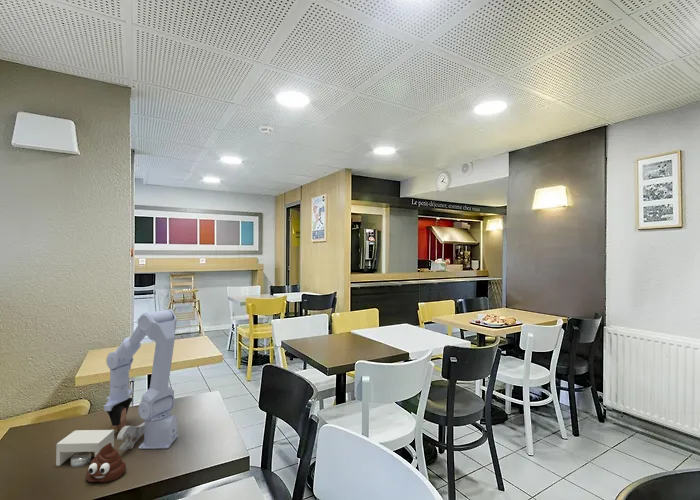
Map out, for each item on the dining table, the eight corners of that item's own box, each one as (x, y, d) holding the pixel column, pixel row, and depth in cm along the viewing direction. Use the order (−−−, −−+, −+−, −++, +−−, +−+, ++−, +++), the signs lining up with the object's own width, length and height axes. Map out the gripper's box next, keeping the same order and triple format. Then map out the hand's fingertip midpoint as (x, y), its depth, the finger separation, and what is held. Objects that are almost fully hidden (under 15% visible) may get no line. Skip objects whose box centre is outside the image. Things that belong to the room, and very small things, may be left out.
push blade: (129, 426, 132) (130, 407, 132) (96, 456, 112) (96, 434, 112) (112, 426, 131) (113, 407, 131) (76, 457, 112) (76, 434, 112)
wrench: (170, 422, 141) (120, 457, 112) (165, 422, 141) (114, 457, 112) (171, 401, 142) (122, 430, 112) (167, 401, 142) (117, 430, 112)
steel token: (94, 457, 112) (95, 451, 112) (84, 467, 107) (84, 460, 107) (78, 457, 112) (78, 451, 112) (66, 467, 107) (66, 460, 107)
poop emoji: (132, 466, 108) (132, 435, 108) (114, 485, 99) (115, 451, 99) (97, 467, 108) (98, 435, 108) (77, 485, 99) (77, 451, 99)
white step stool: (113, 449, 116) (114, 429, 116) (98, 464, 108) (98, 443, 108) (74, 450, 116) (75, 430, 116) (56, 465, 108) (56, 443, 108)
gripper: (119, 377, 137) (118, 413, 137) (94, 392, 122) (94, 432, 122) (138, 377, 137) (138, 413, 137) (116, 392, 123) (115, 432, 123)
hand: (118, 422), depth 130 cm, fingers closed on push blade, 3 cm apart
